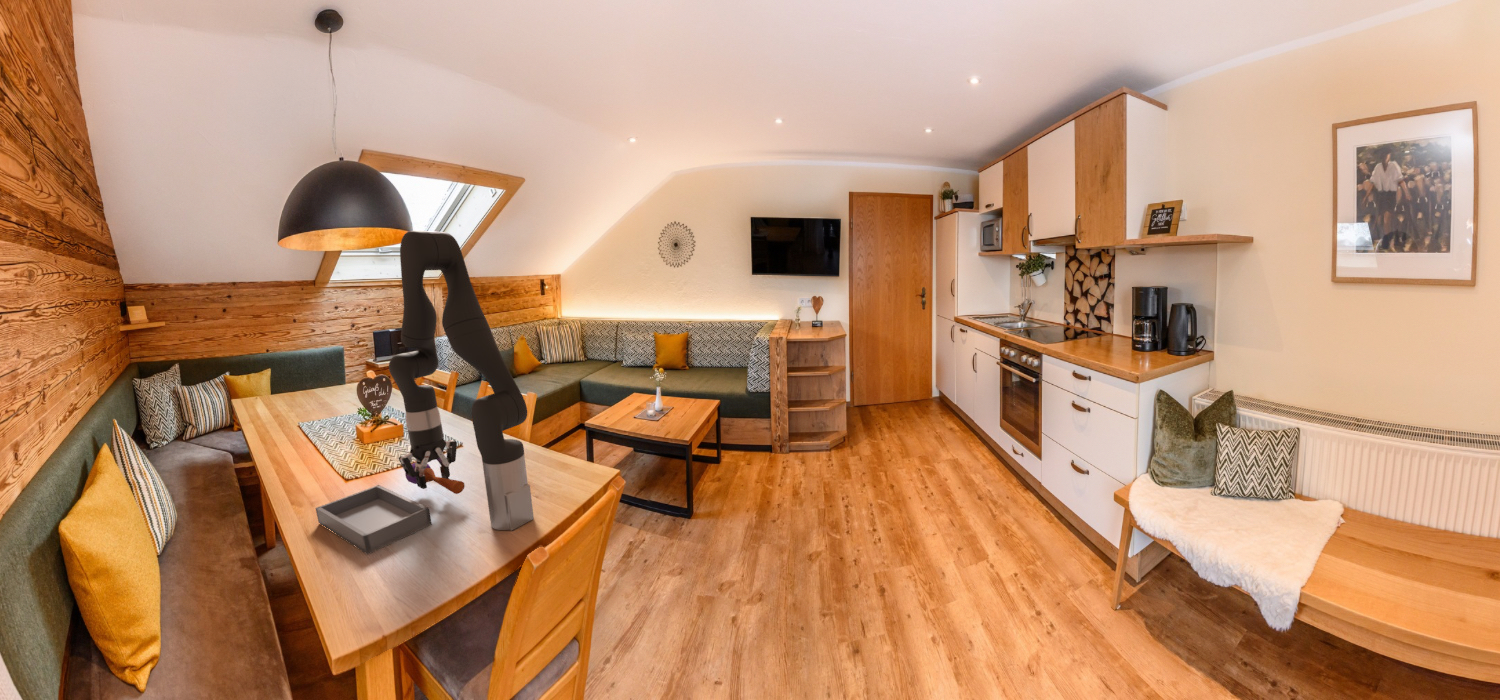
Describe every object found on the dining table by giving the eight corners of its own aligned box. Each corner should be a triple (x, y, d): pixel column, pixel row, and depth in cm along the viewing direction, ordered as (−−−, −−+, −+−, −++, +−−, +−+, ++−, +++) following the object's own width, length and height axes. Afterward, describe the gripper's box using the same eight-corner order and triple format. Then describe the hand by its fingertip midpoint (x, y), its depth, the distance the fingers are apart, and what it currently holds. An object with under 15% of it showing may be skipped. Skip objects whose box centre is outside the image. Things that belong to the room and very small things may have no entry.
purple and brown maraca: (444, 485, 122) (397, 467, 130) (451, 503, 124) (404, 485, 132) (465, 471, 126) (419, 455, 134) (471, 489, 129) (425, 472, 137)
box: (431, 524, 118) (429, 508, 117) (367, 554, 106) (363, 536, 105) (381, 499, 130) (378, 484, 129) (319, 524, 119) (315, 508, 118)
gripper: (401, 436, 118) (413, 498, 121) (459, 418, 130) (468, 475, 134) (386, 431, 122) (398, 492, 125) (444, 414, 134) (453, 470, 137)
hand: (434, 483), depth 129 cm, fingers closed on purple and brown maraca, 5 cm apart
